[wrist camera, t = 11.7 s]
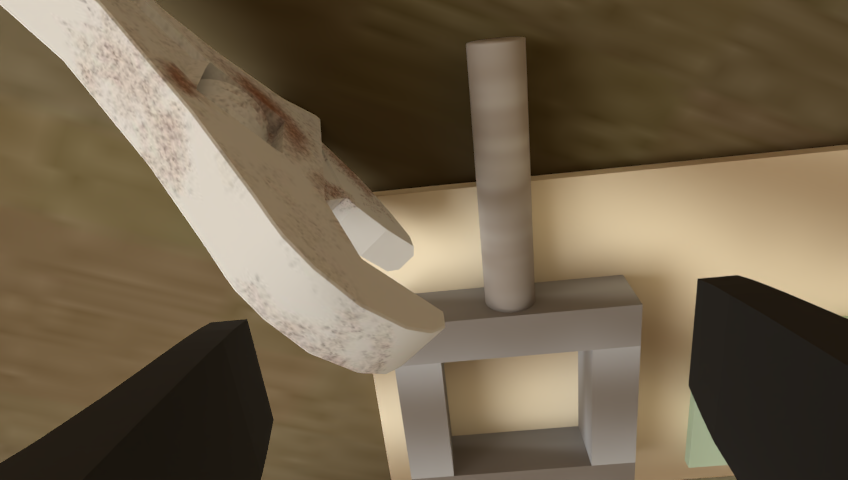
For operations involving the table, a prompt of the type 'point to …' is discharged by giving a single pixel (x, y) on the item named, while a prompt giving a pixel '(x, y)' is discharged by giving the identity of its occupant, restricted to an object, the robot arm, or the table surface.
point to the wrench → (248, 180)
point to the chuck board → (585, 294)
